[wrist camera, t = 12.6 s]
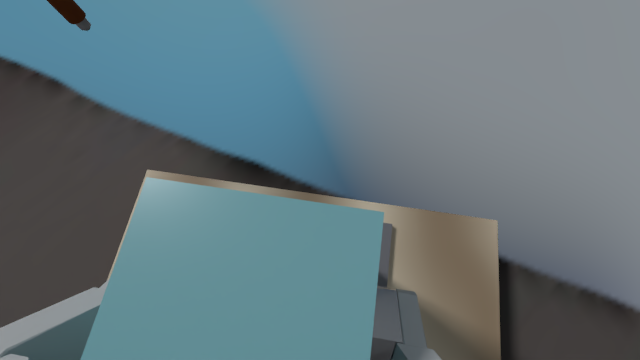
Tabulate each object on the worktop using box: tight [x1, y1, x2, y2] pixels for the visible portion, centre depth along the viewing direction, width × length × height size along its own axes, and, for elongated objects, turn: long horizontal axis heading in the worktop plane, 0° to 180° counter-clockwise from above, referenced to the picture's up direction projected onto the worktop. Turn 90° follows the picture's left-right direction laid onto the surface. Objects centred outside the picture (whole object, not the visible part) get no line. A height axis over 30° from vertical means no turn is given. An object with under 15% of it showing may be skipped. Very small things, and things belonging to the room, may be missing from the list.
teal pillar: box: [81, 177, 384, 360], centre depth 9 cm, size 5×5×8 cm
